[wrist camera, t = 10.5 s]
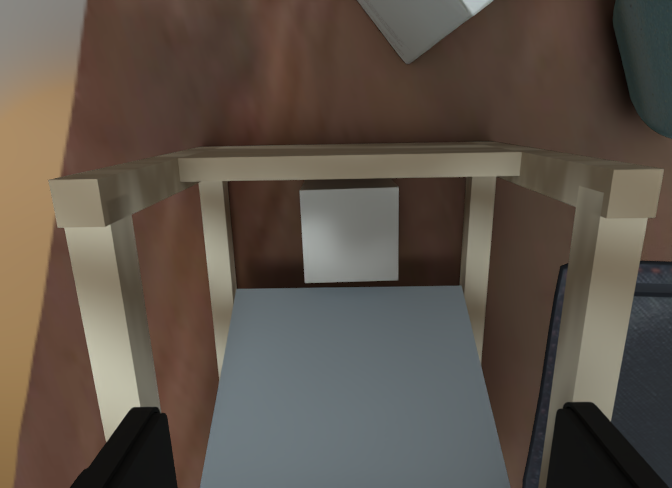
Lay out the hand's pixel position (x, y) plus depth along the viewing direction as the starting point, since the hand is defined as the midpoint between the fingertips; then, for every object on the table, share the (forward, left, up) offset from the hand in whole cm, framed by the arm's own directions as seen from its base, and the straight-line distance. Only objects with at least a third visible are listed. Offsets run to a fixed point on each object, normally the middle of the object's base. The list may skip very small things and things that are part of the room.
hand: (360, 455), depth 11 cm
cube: (0, +1, -16) cm, 16 cm away
